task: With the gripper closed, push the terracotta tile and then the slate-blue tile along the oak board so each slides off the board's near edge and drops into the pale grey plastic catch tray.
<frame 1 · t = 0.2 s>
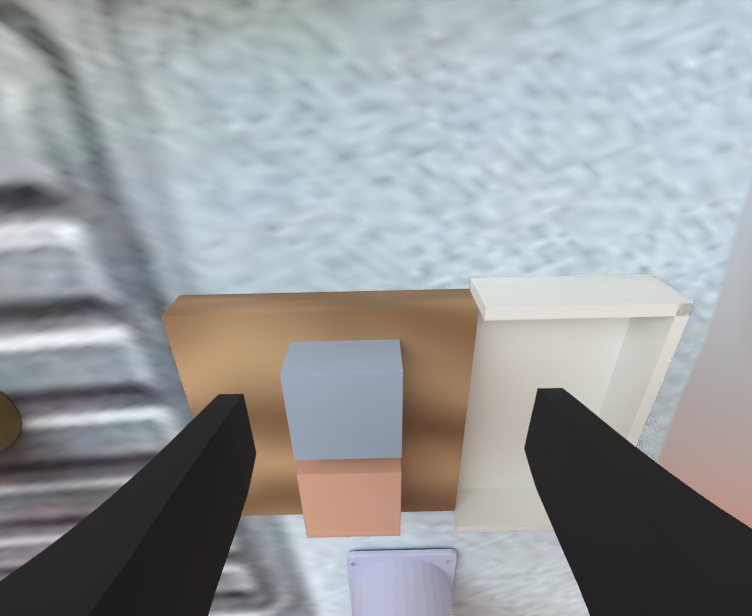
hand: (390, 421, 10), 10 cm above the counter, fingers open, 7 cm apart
catch tray: (533, 398, 23), on the counter
slate tile: (347, 383, 20), point 2 cm above the counter, touching oak board
terracotta tile: (353, 467, 23), point 2 cm above the counter, touching oak board
oak board: (334, 402, 23), on the counter
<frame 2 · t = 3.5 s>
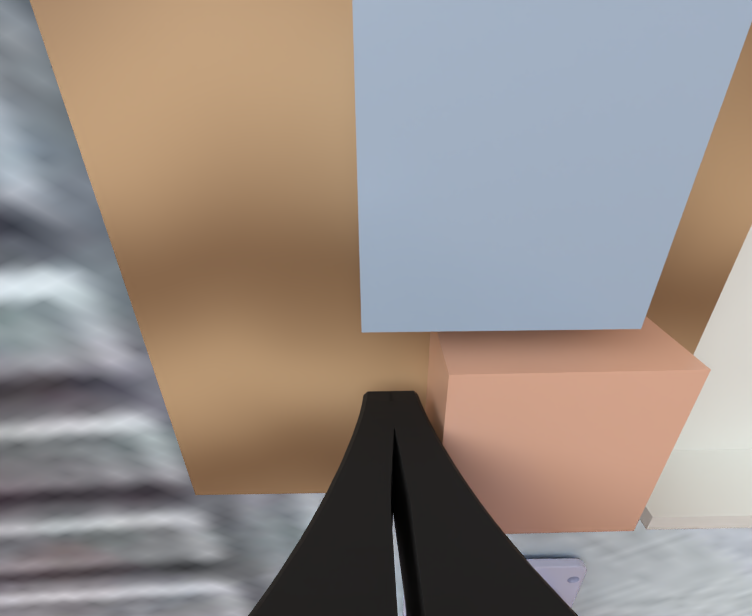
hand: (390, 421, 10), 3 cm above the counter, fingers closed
slate tile: (485, 161, 8), point 2 cm above the counter, touching oak board
terracotta tile: (518, 391, 11), point 2 cm above the counter, touching gripper, oak board
oak board: (418, 263, 11), on the counter
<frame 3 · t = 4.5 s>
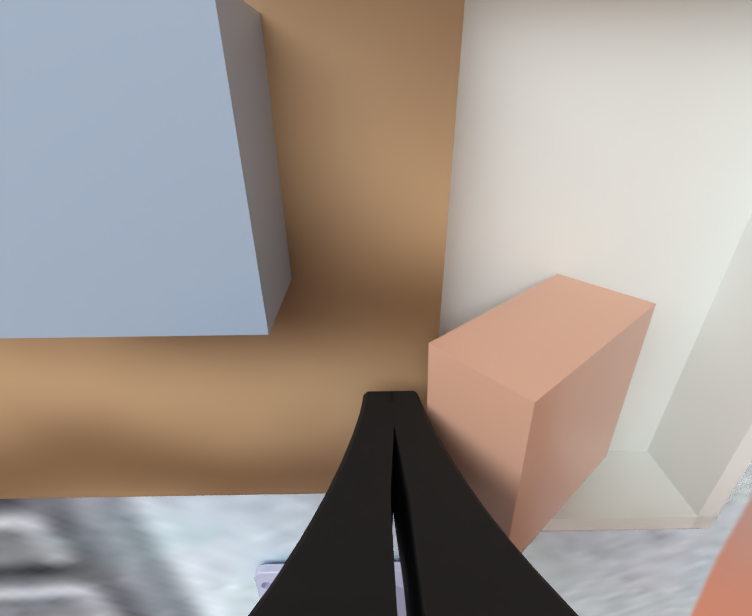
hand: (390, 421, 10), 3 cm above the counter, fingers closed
catch tray: (583, 262, 11), on the counter
slate tile: (153, 166, 8), point 2 cm above the counter, touching oak board
terracotta tile: (492, 386, 11), point 2 cm above the counter, tilted 39°, touching catch tray, gripper
oak board: (180, 267, 11), on the counter
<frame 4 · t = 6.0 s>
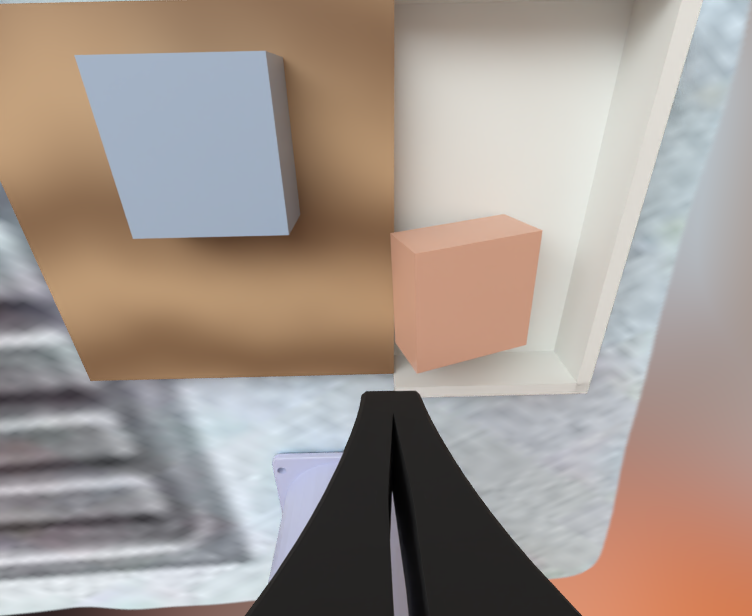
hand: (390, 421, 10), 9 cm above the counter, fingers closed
catch tray: (493, 209, 17), on the counter
slate tile: (219, 144, 14), point 2 cm above the counter, touching oak board
terracotta tile: (447, 280, 17), point 1 cm above the counter, tilted 18°, touching catch tray, oak board
oak board: (226, 215, 17), on the counter
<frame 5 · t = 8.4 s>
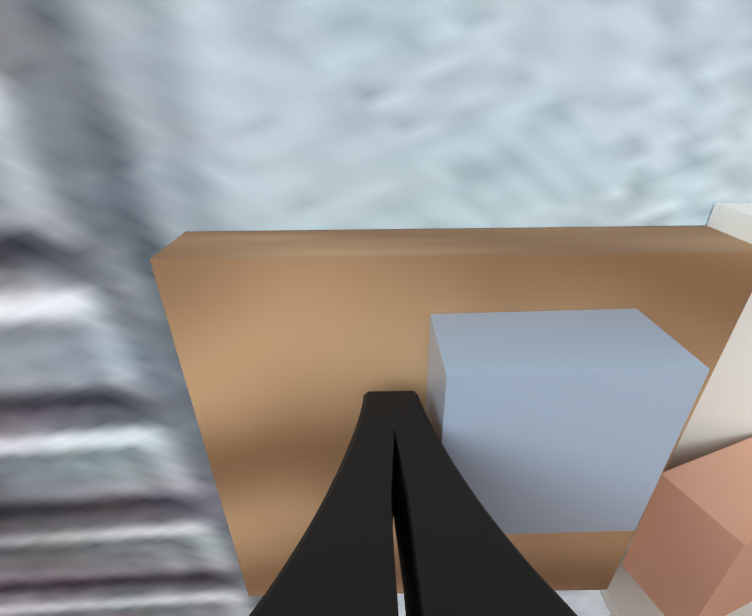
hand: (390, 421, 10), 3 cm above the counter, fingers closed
catch tray: (751, 417, 14), on the counter
slate tile: (518, 391, 11), point 2 cm above the counter, touching gripper
terracotta tile: (693, 499, 14), point 1 cm above the counter, tilted 18°, touching catch tray, oak board
oak board: (432, 422, 14), on the counter
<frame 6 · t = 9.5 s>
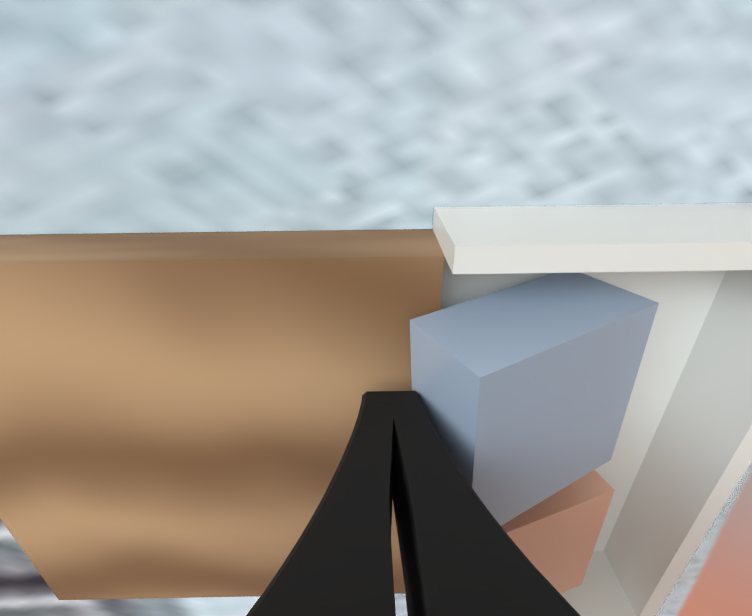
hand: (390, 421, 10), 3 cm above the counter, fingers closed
catch tray: (543, 420, 14), on the counter
slate tile: (489, 372, 11), point 2 cm above the counter, tilted 26°
terracotta tile: (487, 503, 14), point 1 cm above the counter, tilted 18°, touching catch tray, oak board
oak board: (221, 426, 14), on the counter
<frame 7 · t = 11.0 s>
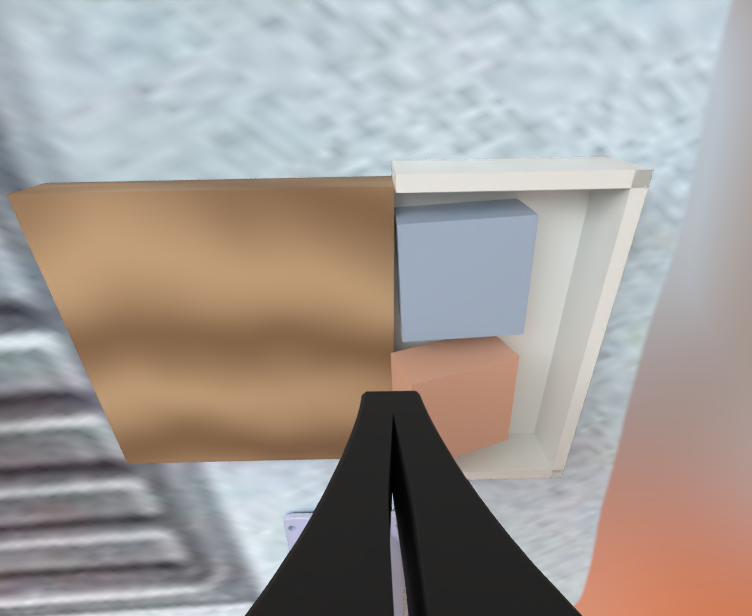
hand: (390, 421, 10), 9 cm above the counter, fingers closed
catch tray: (479, 322, 20), on the counter
slate tile: (453, 260, 18), resting on catch tray
terracotta tile: (440, 383, 20), point 1 cm above the counter, tilted 18°, touching catch tray, oak board
oak board: (248, 327, 20), on the counter
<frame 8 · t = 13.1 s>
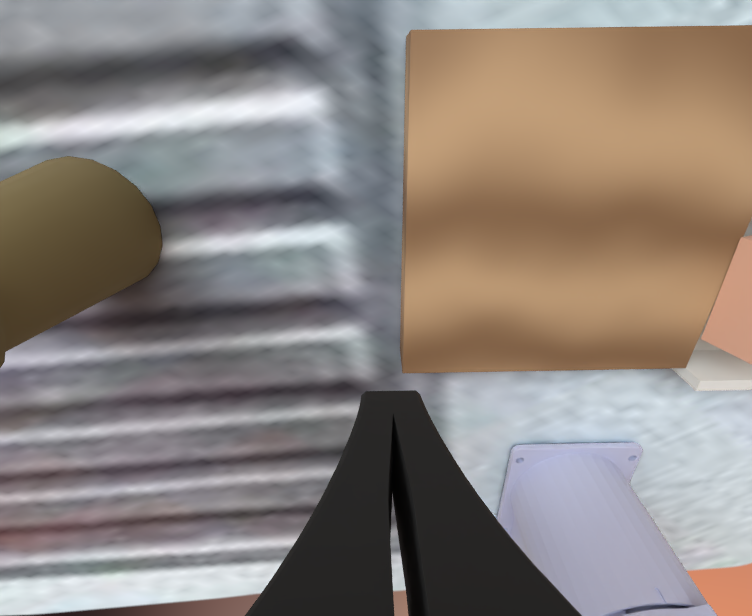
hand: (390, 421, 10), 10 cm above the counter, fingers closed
olive lobed plate: (95, 225, 18), on the counter
oak board: (556, 219, 18), on the counter
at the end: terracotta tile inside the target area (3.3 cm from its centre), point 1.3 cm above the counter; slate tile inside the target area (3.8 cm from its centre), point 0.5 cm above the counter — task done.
